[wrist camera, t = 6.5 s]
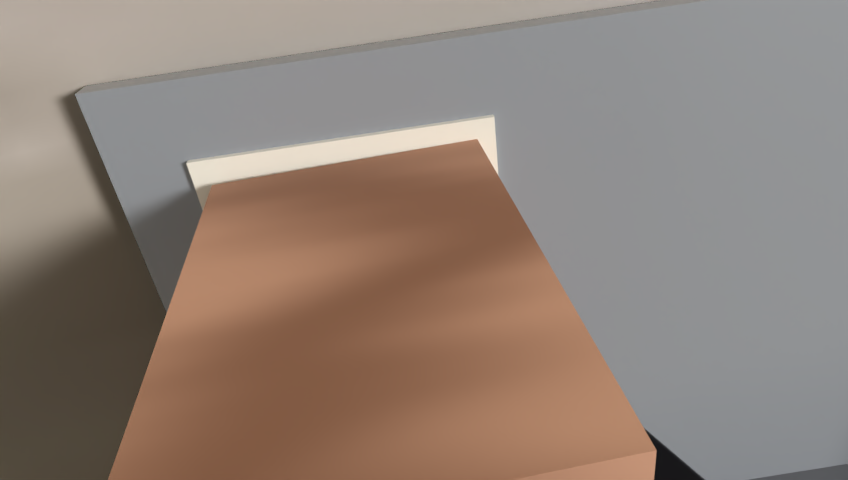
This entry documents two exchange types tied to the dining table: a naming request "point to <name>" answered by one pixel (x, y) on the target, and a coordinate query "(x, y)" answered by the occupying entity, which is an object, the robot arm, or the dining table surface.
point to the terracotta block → (376, 338)
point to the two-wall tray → (582, 190)
